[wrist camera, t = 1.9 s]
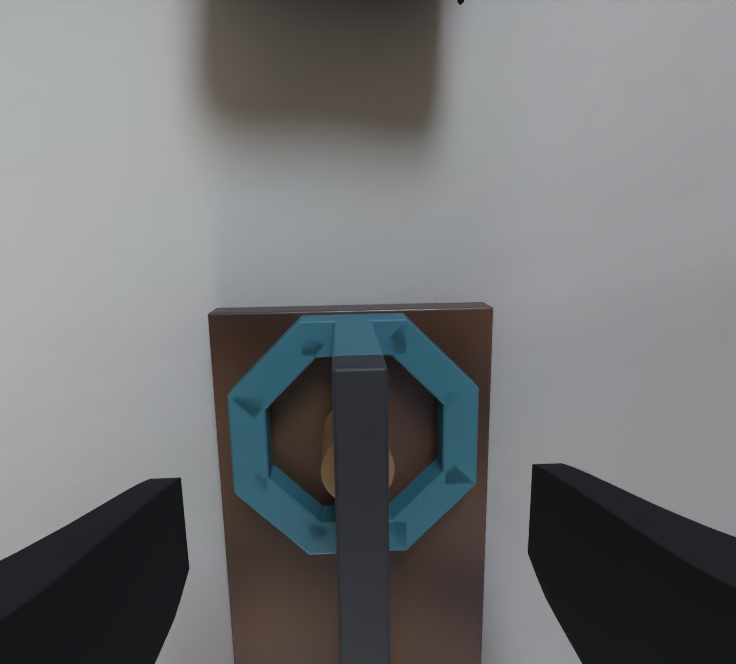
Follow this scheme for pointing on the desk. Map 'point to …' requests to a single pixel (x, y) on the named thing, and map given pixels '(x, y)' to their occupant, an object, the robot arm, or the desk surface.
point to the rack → (316, 476)
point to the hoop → (356, 458)
